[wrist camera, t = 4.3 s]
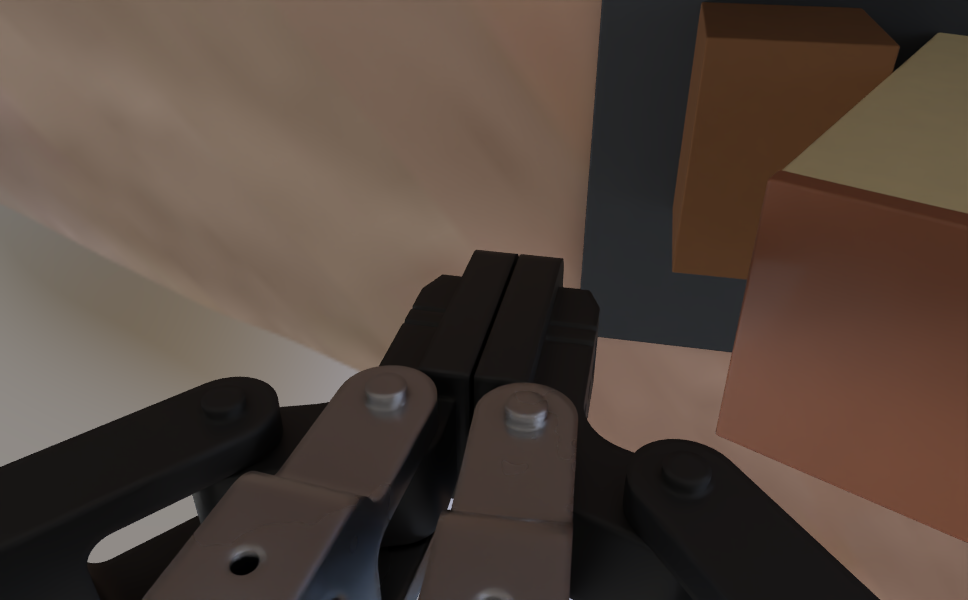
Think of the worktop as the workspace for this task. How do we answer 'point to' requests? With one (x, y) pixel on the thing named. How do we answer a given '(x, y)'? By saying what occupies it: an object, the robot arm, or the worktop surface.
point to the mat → (648, 170)
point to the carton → (867, 301)
